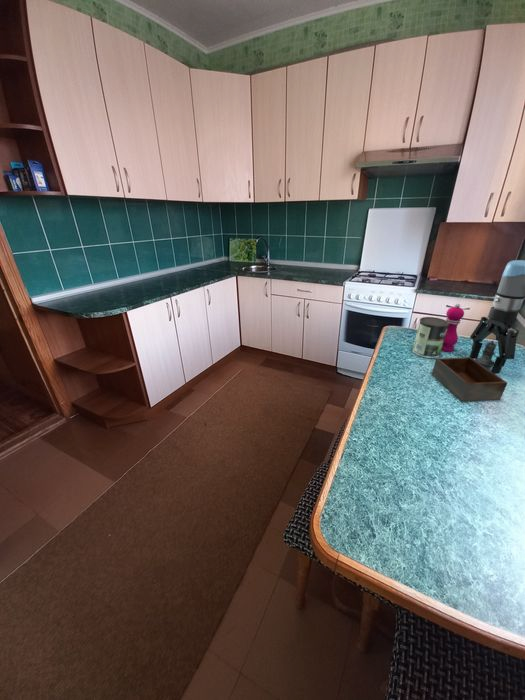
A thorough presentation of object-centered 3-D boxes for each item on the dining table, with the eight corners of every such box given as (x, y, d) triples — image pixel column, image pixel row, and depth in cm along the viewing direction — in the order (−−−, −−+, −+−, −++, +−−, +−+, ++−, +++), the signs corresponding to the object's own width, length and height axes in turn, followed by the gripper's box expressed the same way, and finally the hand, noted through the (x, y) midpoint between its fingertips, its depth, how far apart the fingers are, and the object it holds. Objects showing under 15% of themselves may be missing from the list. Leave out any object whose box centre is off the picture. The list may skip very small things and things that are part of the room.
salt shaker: (469, 365, 112) (479, 336, 106) (486, 366, 110) (498, 337, 105) (476, 373, 106) (487, 343, 101) (494, 374, 105) (506, 344, 100)
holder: (464, 372, 107) (470, 357, 104) (500, 400, 92) (507, 382, 89) (431, 374, 106) (436, 358, 103) (461, 401, 91) (467, 384, 88)
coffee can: (442, 352, 122) (452, 320, 115) (435, 361, 115) (445, 328, 108) (416, 345, 128) (424, 314, 121) (408, 353, 121) (416, 321, 115)
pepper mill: (434, 349, 124) (446, 304, 115) (436, 343, 129) (448, 300, 120) (453, 353, 120) (468, 307, 111) (455, 347, 125) (469, 302, 116)
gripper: (470, 298, 108) (453, 351, 118) (523, 321, 87) (497, 382, 97) (490, 298, 108) (471, 350, 118) (547, 320, 87) (519, 381, 97)
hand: (483, 365), depth 108 cm, fingers open, 10 cm apart
